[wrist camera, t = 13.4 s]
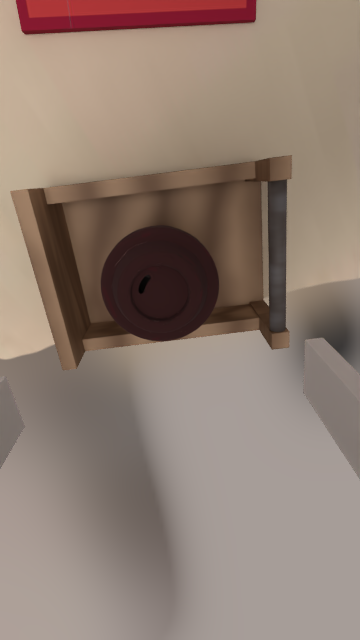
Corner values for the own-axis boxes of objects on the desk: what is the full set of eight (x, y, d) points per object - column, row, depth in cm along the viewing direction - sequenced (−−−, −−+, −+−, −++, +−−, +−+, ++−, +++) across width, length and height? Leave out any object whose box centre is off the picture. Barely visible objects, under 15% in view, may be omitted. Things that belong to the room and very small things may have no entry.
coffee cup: (217, 271, 41) (242, 317, 27) (147, 308, 43) (138, 369, 29) (179, 196, 38) (186, 204, 24) (104, 239, 39) (70, 270, 25)
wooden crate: (257, 162, 38) (291, 155, 27) (261, 309, 45) (289, 347, 34) (48, 188, 38) (4, 191, 28) (84, 331, 45) (60, 375, 35)
